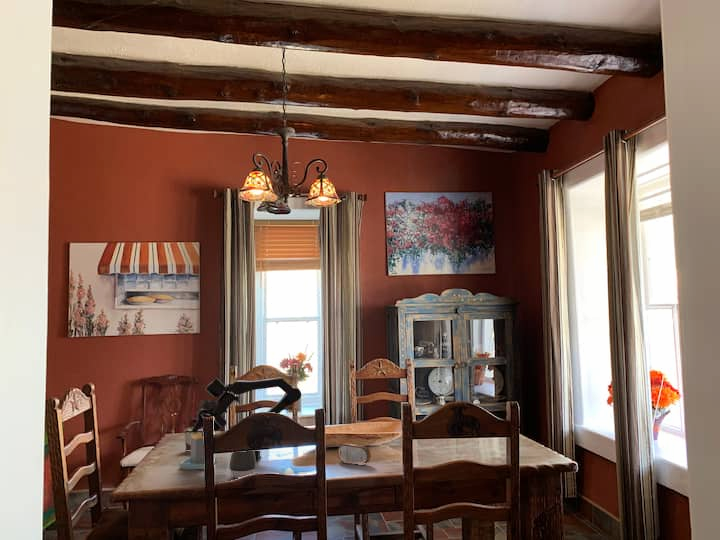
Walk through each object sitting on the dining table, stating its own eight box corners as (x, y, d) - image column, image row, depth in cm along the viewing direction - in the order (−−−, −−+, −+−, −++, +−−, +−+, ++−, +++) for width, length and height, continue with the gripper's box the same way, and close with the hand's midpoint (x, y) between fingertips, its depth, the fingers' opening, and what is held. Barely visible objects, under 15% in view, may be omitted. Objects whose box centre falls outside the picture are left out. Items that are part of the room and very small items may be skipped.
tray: (216, 462, 222) (216, 457, 222) (205, 470, 210) (205, 464, 211) (191, 461, 223) (191, 456, 223) (179, 468, 212) (179, 463, 212)
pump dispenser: (223, 477, 202) (224, 437, 203) (245, 471, 209) (246, 433, 211) (238, 482, 195) (240, 441, 196) (261, 476, 202) (262, 437, 204)
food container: (213, 448, 245) (214, 427, 246) (208, 452, 239) (209, 429, 240) (188, 447, 246) (189, 426, 247) (182, 451, 240) (183, 429, 241)
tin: (370, 465, 220) (371, 445, 220) (367, 467, 217) (368, 446, 218) (339, 461, 226) (339, 441, 227) (336, 462, 223) (336, 442, 224)
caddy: (201, 461, 220) (202, 432, 221) (206, 464, 216) (207, 435, 218) (189, 463, 217) (190, 434, 218) (194, 466, 213) (196, 436, 214)
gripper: (201, 390, 229) (175, 418, 221) (220, 394, 215) (194, 425, 207) (217, 406, 234) (192, 434, 225) (237, 412, 220) (212, 442, 212)
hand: (197, 433), depth 217 cm, fingers open, 9 cm apart
